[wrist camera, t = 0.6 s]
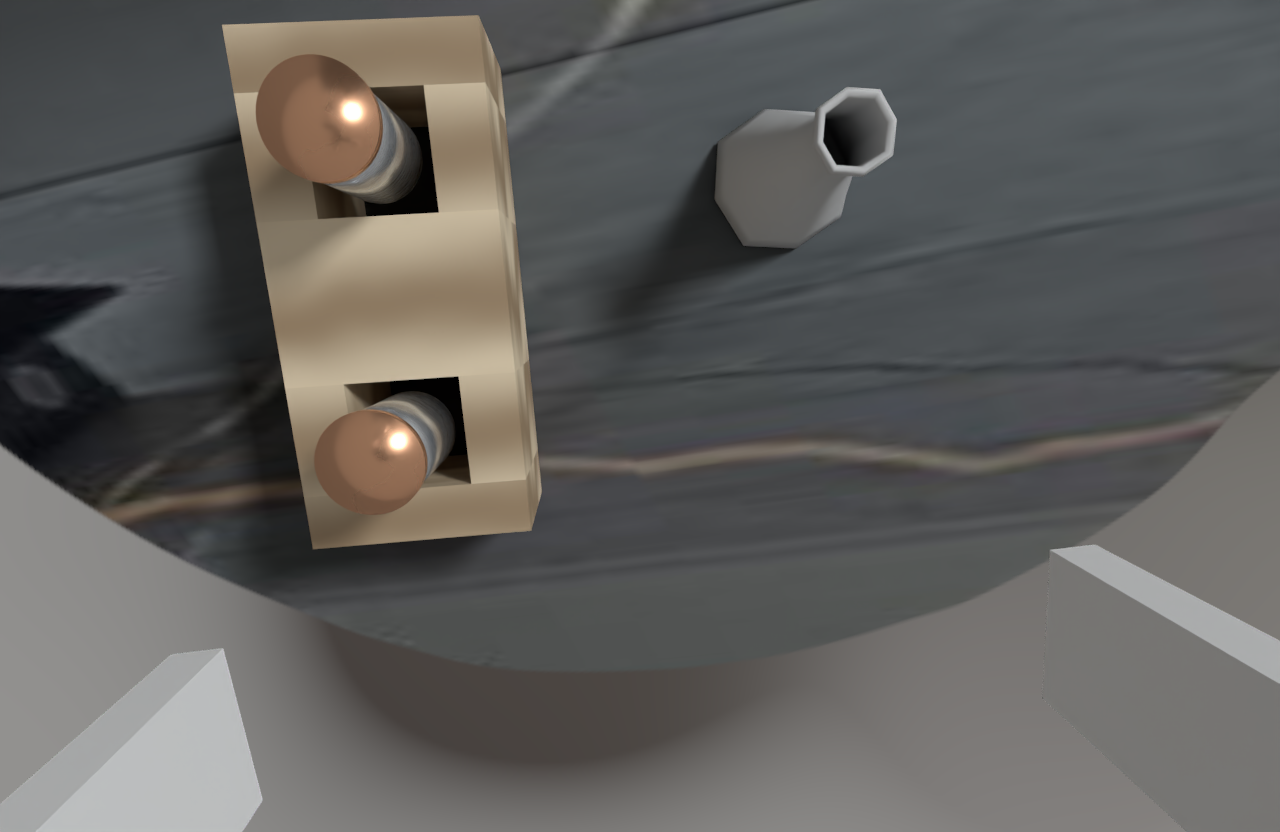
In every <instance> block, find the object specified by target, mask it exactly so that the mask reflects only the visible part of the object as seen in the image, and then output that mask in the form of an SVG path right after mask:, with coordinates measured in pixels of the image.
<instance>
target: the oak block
mask: <svg viewBox="0 0 1280 832" xmlns="http://www.w3.org/2000/svg"><path fill="white" fill-rule="evenodd" d="M222 28H223V33H224V39H225V45H226V51H227V56H228V62H229V68H230V74H231V80H232V85H233V91H234V97H235V103H236V108H237V114H238V120H239V126H240V131H241V137H242V143H243V149H244V154H245V160H246V166H247V172H248V177H249V183H250V189H251V195H252V200H253V206H254V212H255V218H256V224H257V229H258V235H259V241H260V247H261V252H262V258H263V264H264V270H265V275H266V281H267V287H268V293H269V298H270V304H271V310H272V316H273V321H274V327H275V333H276V339H277V344H278V350H279V356H280V362H281V368H282V373H283V379H284V385H285V391H286V396H287V402H288V408H289V414H290V419H291V425H292V431H293V437H294V442H295V448H296V454H297V460H298V465H299V471H300V477H301V483H302V489H303V494H304V500H305V506H306V512H307V517H308V523H309V529H310V535H311V540H312V546H313V549H323V548H335V547H346V546H358V545H369V544H381V543H393V542H404V541H416V540H428V539H439V538H451V537H462V536H474V535H486V534H497V533H509V532H521V531H531V529H532V526H533V522H534V518H535V515H536V511H537V507H538V504H539V500H540V496H541V493H542V489H541V479H540V469H539V458H538V448H537V438H536V427H535V417H534V407H533V397H532V386H531V376H530V366H529V356H528V345H527V335H526V325H525V315H524V304H523V294H522V284H521V274H520V263H519V253H518V243H517V233H516V222H515V212H514V202H513V192H512V181H511V171H510V161H509V151H508V140H507V130H506V120H505V110H504V99H503V89H502V79H501V69H500V67H499V64H498V62H497V59H496V57H495V54H494V52H493V50H492V47H491V45H490V42H489V40H488V37H487V35H486V32H485V30H484V27H483V25H482V23H481V20H480V18H479V15H475V16H448V17H421V18H394V19H368V20H341V21H314V22H287V23H261V24H234V25H222ZM305 54H317V55H323V56H327V57H330V58H333V59H335V60H338V61H340V62H342V63H343V64H345V65H347V66H348V67H349V68H351V69H352V70H353V71H355V72H356V73H357V74H358V75H359V76H360V77H361V78H362V79H363V80H364V81H365V82H366V84H367V85H368V86H369V87H370V89H371V90H372V92H373V93H374V94H375V95H376V96H377V97H378V98H379V99H380V100H381V101H382V102H383V103H384V104H386V105H387V106H388V107H389V108H390V109H391V110H392V111H393V112H394V113H395V114H396V115H397V116H398V117H400V118H401V119H402V120H403V121H404V122H405V123H406V124H407V125H408V126H409V127H429V134H430V143H431V151H432V159H433V168H434V176H435V184H436V193H437V201H438V210H439V213H421V214H403V215H385V216H368V217H366V210H365V203H364V201H363V200H361V199H359V198H356V197H354V196H352V195H349V194H347V193H345V192H342V191H340V190H338V189H335V188H333V187H331V186H328V185H326V184H323V183H316V182H313V181H309V180H307V179H304V178H302V177H300V176H297V175H295V174H293V173H292V172H290V171H288V170H287V169H286V168H284V167H283V166H282V165H280V164H279V163H278V162H277V161H276V160H275V159H274V157H273V156H272V155H271V154H270V153H269V151H268V150H267V148H266V146H265V145H264V143H263V141H262V139H261V136H260V133H259V131H258V127H257V122H256V100H257V95H258V92H259V89H260V87H261V84H262V82H263V81H264V79H265V78H266V76H267V75H268V74H269V72H270V71H271V70H272V69H273V68H274V67H276V66H277V65H278V64H279V63H281V62H283V61H284V60H286V59H289V58H291V57H294V56H298V55H305ZM456 376H458V377H459V385H460V393H461V402H462V410H463V418H464V427H465V435H466V444H467V452H468V454H466V455H453V456H448V457H447V458H446V459H445V460H444V461H443V462H442V463H441V464H440V465H439V466H438V467H437V468H436V470H435V471H434V472H433V473H432V474H431V475H430V476H429V477H428V478H427V479H426V480H425V481H424V483H423V485H422V487H421V488H420V490H419V491H418V492H417V494H416V495H415V496H414V497H413V498H412V499H411V500H410V501H409V502H408V503H407V504H405V505H404V506H403V507H401V508H399V509H397V510H395V511H393V512H390V513H386V514H381V515H364V514H359V513H355V512H353V511H350V510H348V509H346V508H344V507H342V506H340V505H339V504H337V503H336V502H335V501H334V500H332V499H331V498H330V497H329V496H328V495H327V493H326V492H325V491H324V489H323V488H322V486H321V484H320V483H319V480H318V478H317V475H316V471H315V465H314V454H315V449H316V446H317V443H318V440H319V438H320V436H321V435H322V433H323V432H324V430H325V429H326V428H327V427H328V426H329V425H330V424H331V423H333V422H334V421H335V420H337V419H339V418H340V417H342V416H344V415H346V414H349V413H351V412H355V411H358V410H363V409H365V408H367V407H369V406H372V405H374V404H376V403H378V402H380V401H382V400H384V399H386V398H388V397H390V396H392V395H391V388H390V381H399V380H414V379H428V378H442V377H456Z"/></svg>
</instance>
